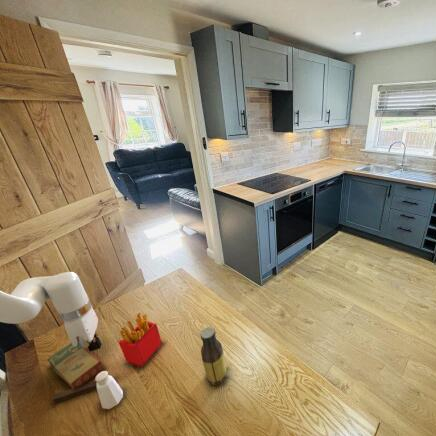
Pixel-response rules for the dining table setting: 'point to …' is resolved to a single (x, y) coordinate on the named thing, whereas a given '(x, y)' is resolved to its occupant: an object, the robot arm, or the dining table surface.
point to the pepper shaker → (108, 390)
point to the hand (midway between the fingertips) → (95, 348)
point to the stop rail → (75, 392)
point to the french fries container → (140, 341)
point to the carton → (75, 365)
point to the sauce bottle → (213, 357)
